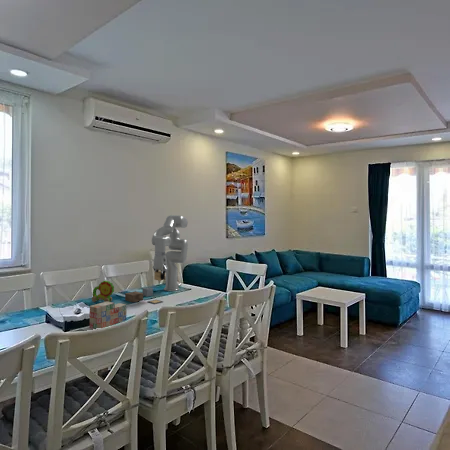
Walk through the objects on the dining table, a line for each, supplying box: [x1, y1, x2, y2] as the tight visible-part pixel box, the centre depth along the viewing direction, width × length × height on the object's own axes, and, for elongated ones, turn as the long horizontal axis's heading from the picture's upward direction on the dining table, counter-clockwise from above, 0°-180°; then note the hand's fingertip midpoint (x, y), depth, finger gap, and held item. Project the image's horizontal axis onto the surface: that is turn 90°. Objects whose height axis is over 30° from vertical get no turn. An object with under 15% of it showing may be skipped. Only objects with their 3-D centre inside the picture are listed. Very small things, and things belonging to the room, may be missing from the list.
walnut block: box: [124, 290, 144, 303], centre depth 259 cm, size 9×9×5 cm
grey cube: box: [141, 286, 154, 297], centre depth 274 cm, size 6×6×6 cm
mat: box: [147, 299, 164, 305], centre depth 255 cm, size 8×8×1 cm
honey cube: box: [153, 270, 166, 282], centre depth 263 cm, size 6×6×6 cm
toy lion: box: [91, 279, 115, 303], centre depth 252 cm, size 16×5×15 cm, turn 74°
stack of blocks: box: [88, 301, 127, 330], centre depth 205 cm, size 21×6×12 cm, turn 149°
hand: (159, 278), depth 263 cm, fingers closed on honey cube, 5 cm apart
